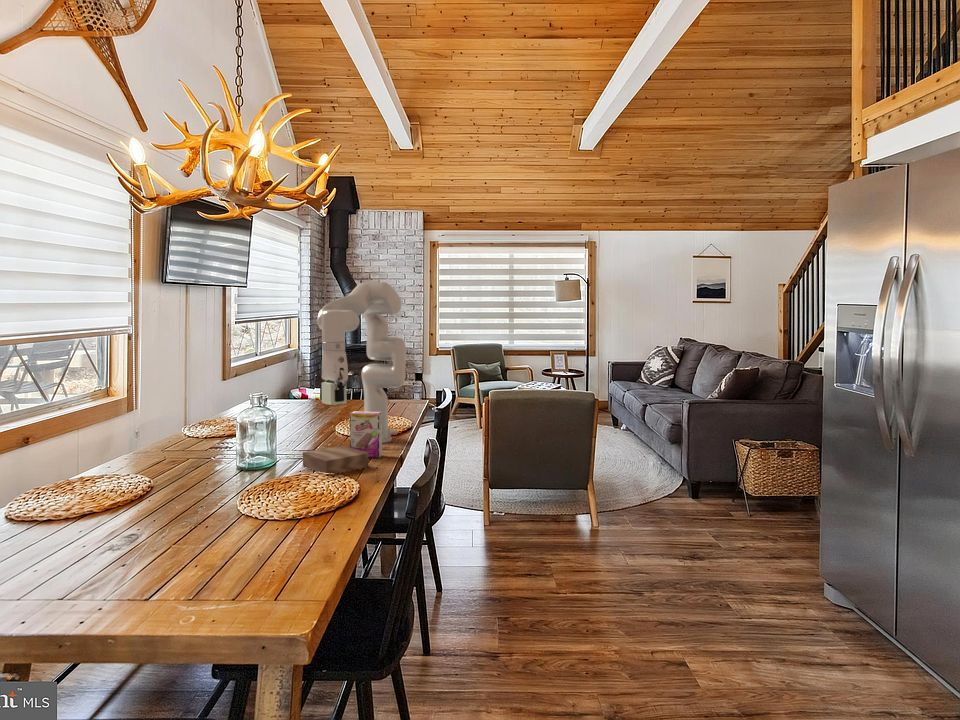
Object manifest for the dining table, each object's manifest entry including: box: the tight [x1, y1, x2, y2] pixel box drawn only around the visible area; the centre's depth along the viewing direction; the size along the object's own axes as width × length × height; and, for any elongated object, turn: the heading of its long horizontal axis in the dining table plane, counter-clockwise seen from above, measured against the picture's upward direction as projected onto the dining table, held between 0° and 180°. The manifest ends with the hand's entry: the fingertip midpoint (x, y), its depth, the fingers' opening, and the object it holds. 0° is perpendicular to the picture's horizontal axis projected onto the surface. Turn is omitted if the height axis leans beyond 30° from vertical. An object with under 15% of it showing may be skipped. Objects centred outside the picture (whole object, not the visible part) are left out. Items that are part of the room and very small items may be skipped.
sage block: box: [321, 381, 348, 406], centre depth 214 cm, size 6×6×7 cm
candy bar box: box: [349, 410, 383, 459], centre depth 231 cm, size 11×5×16 cm, turn 84°
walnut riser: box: [302, 444, 369, 475], centre depth 216 cm, size 16×16×5 cm
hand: (334, 399), depth 214 cm, fingers closed on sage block, 6 cm apart
